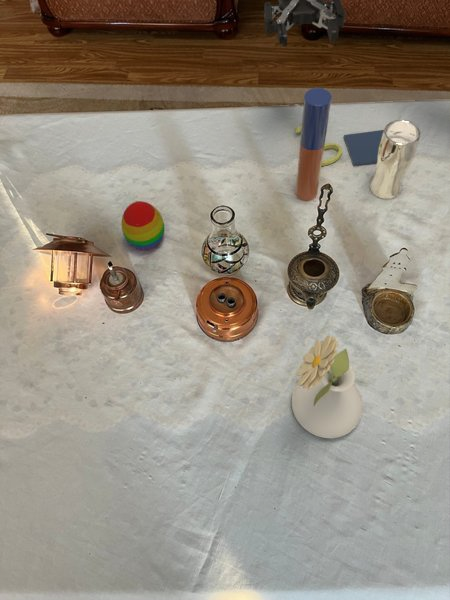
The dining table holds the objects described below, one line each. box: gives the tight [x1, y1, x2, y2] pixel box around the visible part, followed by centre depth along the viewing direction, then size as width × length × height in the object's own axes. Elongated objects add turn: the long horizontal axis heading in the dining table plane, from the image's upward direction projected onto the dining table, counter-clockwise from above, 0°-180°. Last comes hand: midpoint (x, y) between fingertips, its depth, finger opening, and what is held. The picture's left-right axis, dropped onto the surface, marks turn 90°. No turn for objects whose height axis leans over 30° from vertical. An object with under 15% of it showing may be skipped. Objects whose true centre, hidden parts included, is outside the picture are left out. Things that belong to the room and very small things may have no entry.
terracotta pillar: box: [294, 142, 326, 202], centre depth 104 cm, size 5×5×14 cm
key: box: [294, 123, 343, 167], centre depth 115 cm, size 7×12×2 cm, turn 49°
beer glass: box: [369, 119, 421, 200], centre depth 103 cm, size 7×7×15 cm
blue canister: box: [299, 87, 333, 150], centre depth 94 cm, size 5×5×10 cm
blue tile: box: [343, 129, 384, 167], centre depth 115 cm, size 9×9×1 cm
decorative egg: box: [121, 200, 165, 251], centre depth 102 cm, size 8×8×10 cm
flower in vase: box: [291, 334, 364, 439], centre depth 75 cm, size 13×11×25 cm
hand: (309, 39), depth 92 cm, fingers open, 8 cm apart
